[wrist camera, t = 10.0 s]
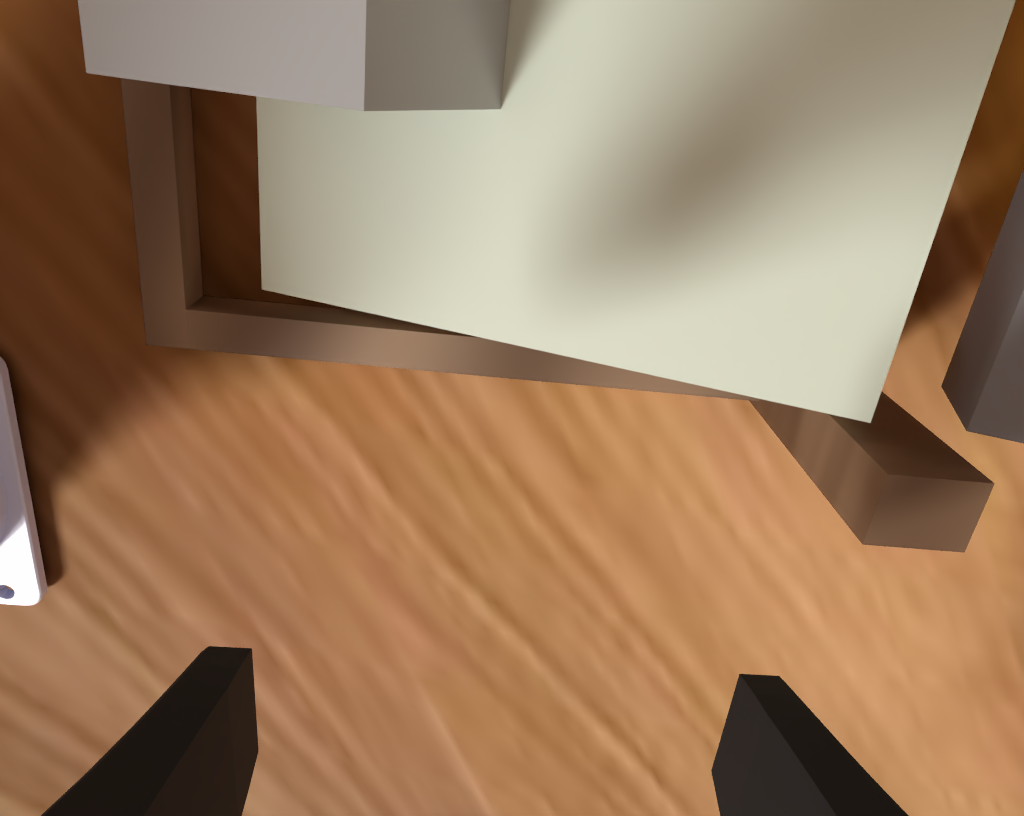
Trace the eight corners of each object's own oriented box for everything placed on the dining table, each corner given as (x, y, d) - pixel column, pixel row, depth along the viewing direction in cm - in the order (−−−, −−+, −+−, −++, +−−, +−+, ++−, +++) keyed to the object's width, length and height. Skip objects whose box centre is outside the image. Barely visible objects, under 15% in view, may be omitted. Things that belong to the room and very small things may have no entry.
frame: (166, 338, 19) (1, 476, 13) (93, -519, 13) (-318, -1131, 6) (1020, 417, 21) (1262, 575, 14) (1334, -305, 15) (2027, -610, 8)
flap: (302, 275, 19) (243, 296, 17) (298, -329, 14) (215, -402, 12) (1214, 467, 14) (1288, 529, 12) (1686, -361, 9) (1948, -497, 7)
